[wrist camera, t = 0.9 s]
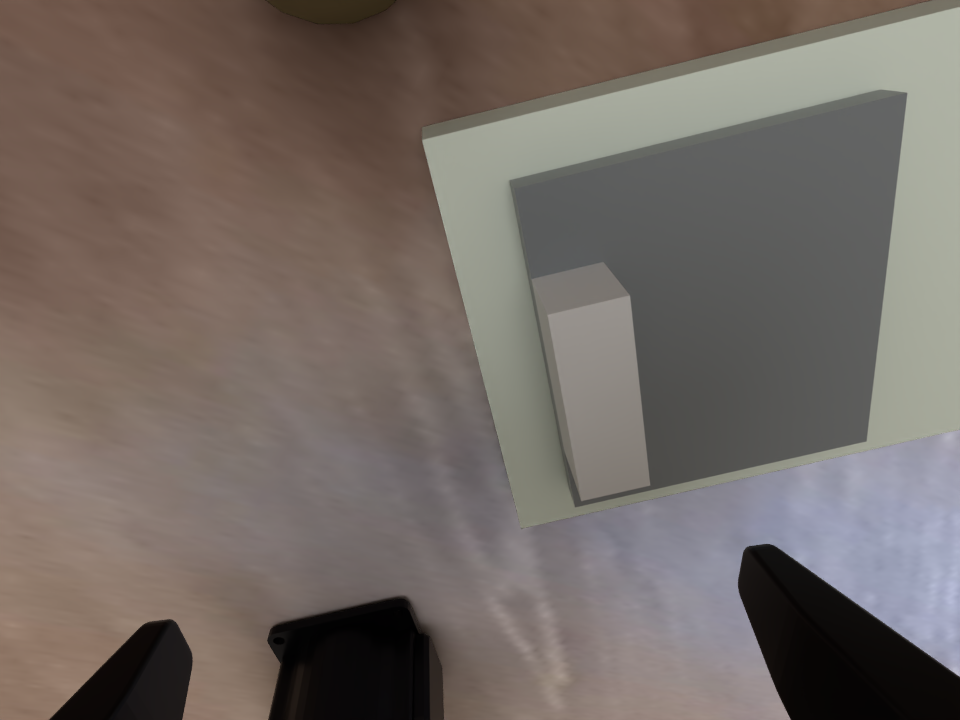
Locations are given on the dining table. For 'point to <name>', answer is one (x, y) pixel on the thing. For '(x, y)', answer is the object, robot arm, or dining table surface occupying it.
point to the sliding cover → (714, 294)
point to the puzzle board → (689, 111)
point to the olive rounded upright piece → (331, 9)
